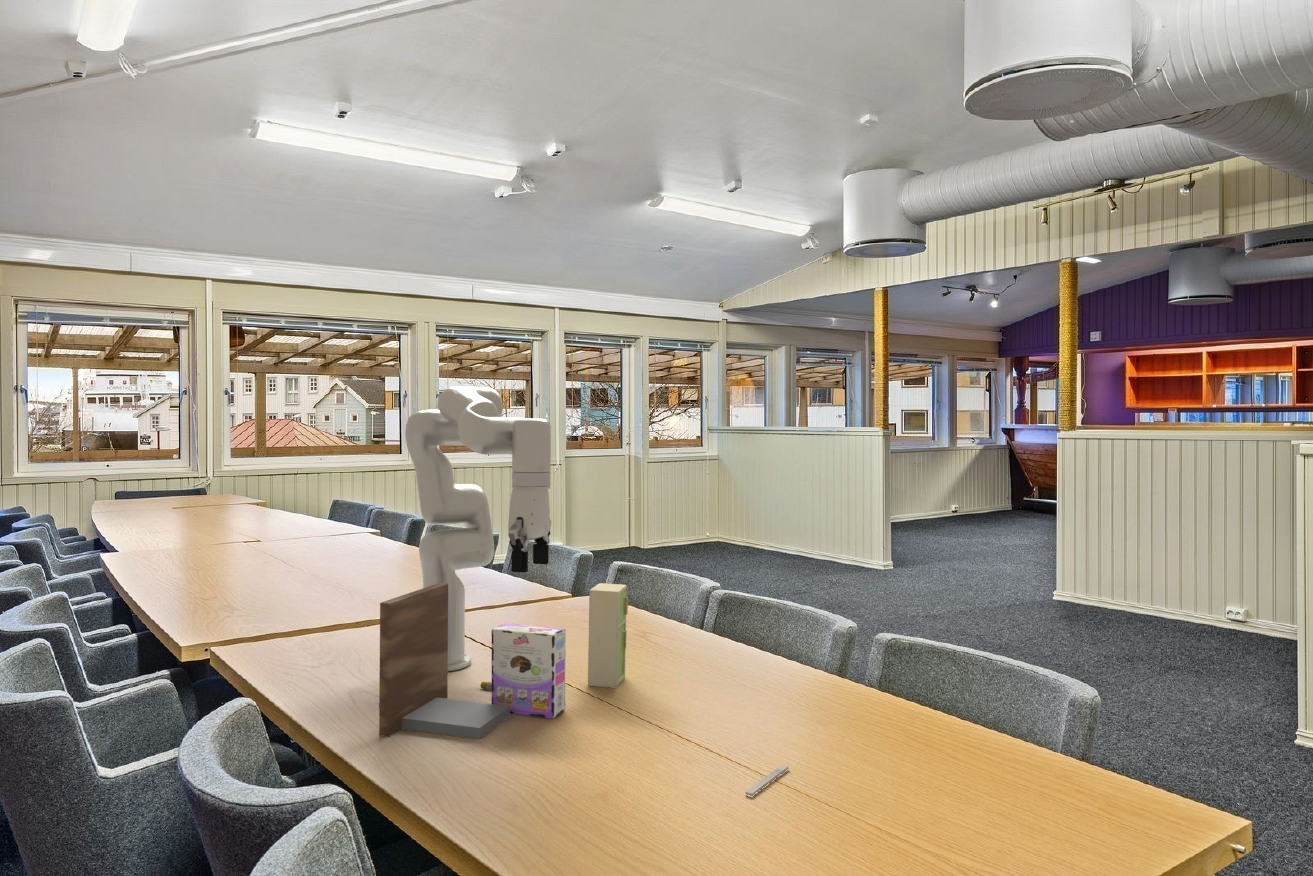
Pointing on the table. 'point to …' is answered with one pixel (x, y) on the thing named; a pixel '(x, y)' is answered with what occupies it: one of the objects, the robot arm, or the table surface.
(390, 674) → the wall board
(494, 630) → the candy box
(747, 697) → the table surface
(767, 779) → the ruler
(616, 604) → the toy refrigerator
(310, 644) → the table surface
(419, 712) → the cleat ledge
